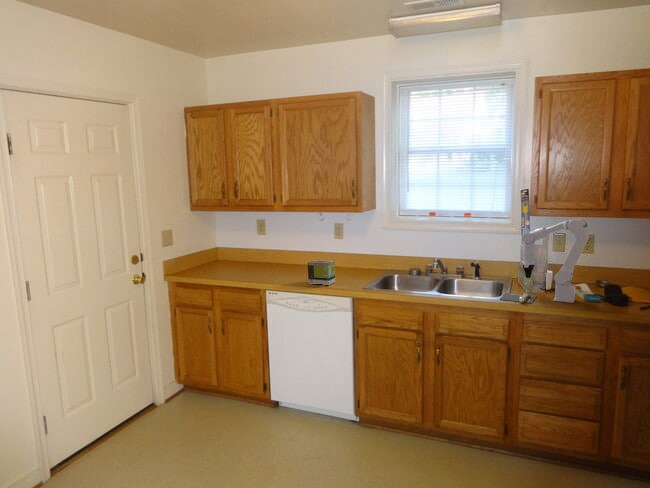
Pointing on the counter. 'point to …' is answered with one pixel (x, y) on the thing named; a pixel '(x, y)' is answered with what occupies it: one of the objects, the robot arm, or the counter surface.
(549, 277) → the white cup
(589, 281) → the counter surface
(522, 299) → the lever
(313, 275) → the tea box
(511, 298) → the lock plate
